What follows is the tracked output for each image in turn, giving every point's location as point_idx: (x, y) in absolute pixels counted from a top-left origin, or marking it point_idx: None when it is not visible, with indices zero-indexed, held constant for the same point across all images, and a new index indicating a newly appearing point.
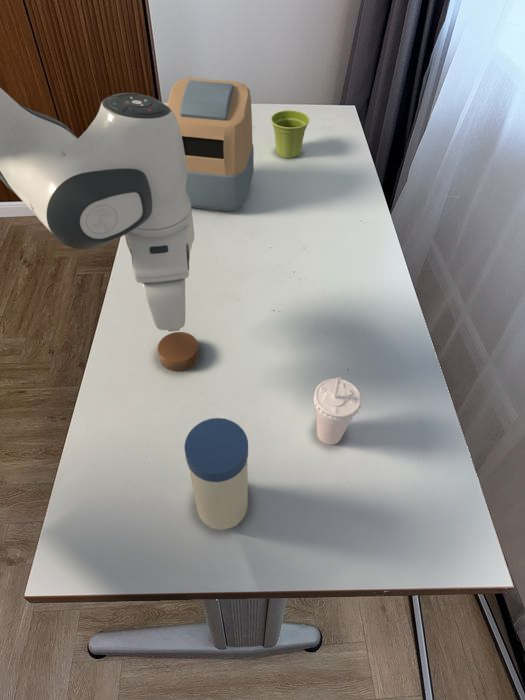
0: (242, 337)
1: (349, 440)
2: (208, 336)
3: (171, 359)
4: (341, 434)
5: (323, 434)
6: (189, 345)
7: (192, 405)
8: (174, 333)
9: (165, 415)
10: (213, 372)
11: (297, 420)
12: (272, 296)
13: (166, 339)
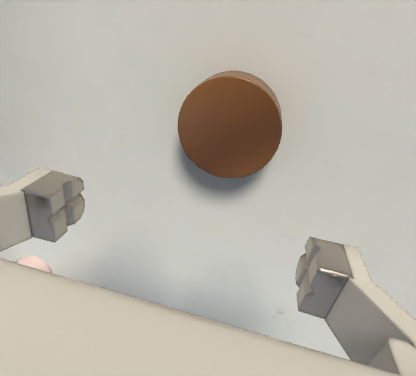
0: (237, 247)
1: None
2: (266, 195)
3: (190, 104)
4: None
5: None
6: (221, 158)
7: (97, 110)
8: (277, 135)
9: (79, 47)
10: (168, 172)
11: (57, 246)
12: (316, 325)
13: (264, 109)
